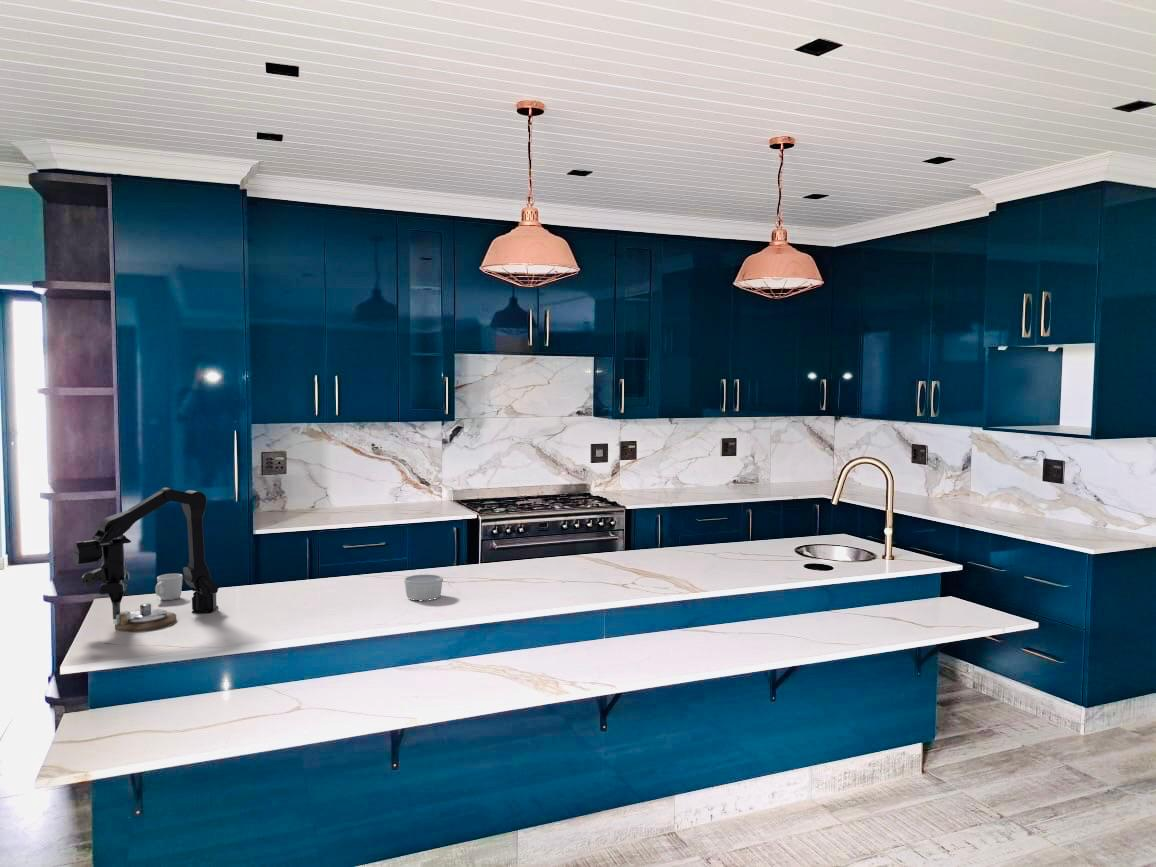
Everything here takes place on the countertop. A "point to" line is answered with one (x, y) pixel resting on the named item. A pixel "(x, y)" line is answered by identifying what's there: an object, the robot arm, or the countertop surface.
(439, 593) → the ramekin
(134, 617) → the light grey irregular piece
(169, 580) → the cup
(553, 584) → the countertop surface
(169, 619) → the plinth
